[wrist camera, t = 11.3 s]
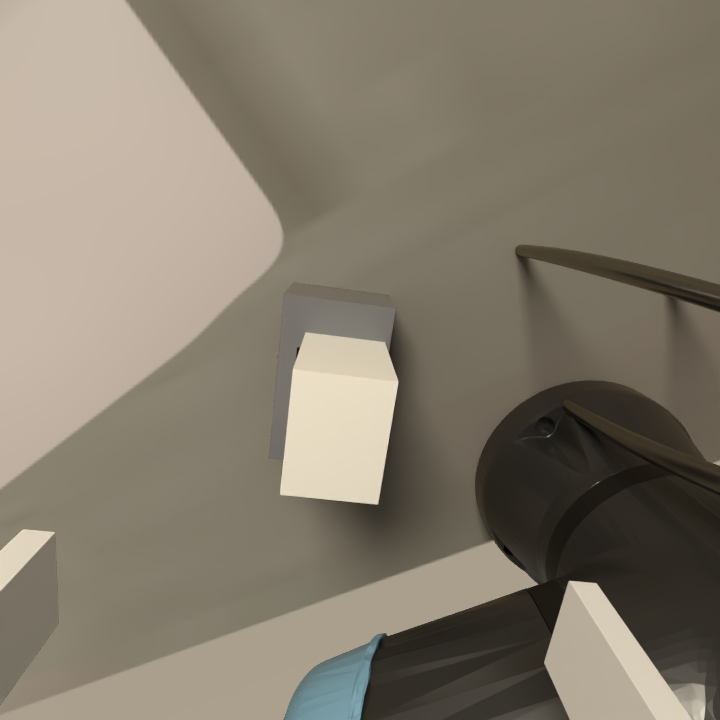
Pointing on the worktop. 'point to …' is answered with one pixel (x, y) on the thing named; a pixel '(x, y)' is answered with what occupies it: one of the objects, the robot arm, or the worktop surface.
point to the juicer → (662, 283)
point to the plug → (339, 419)
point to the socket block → (328, 317)
